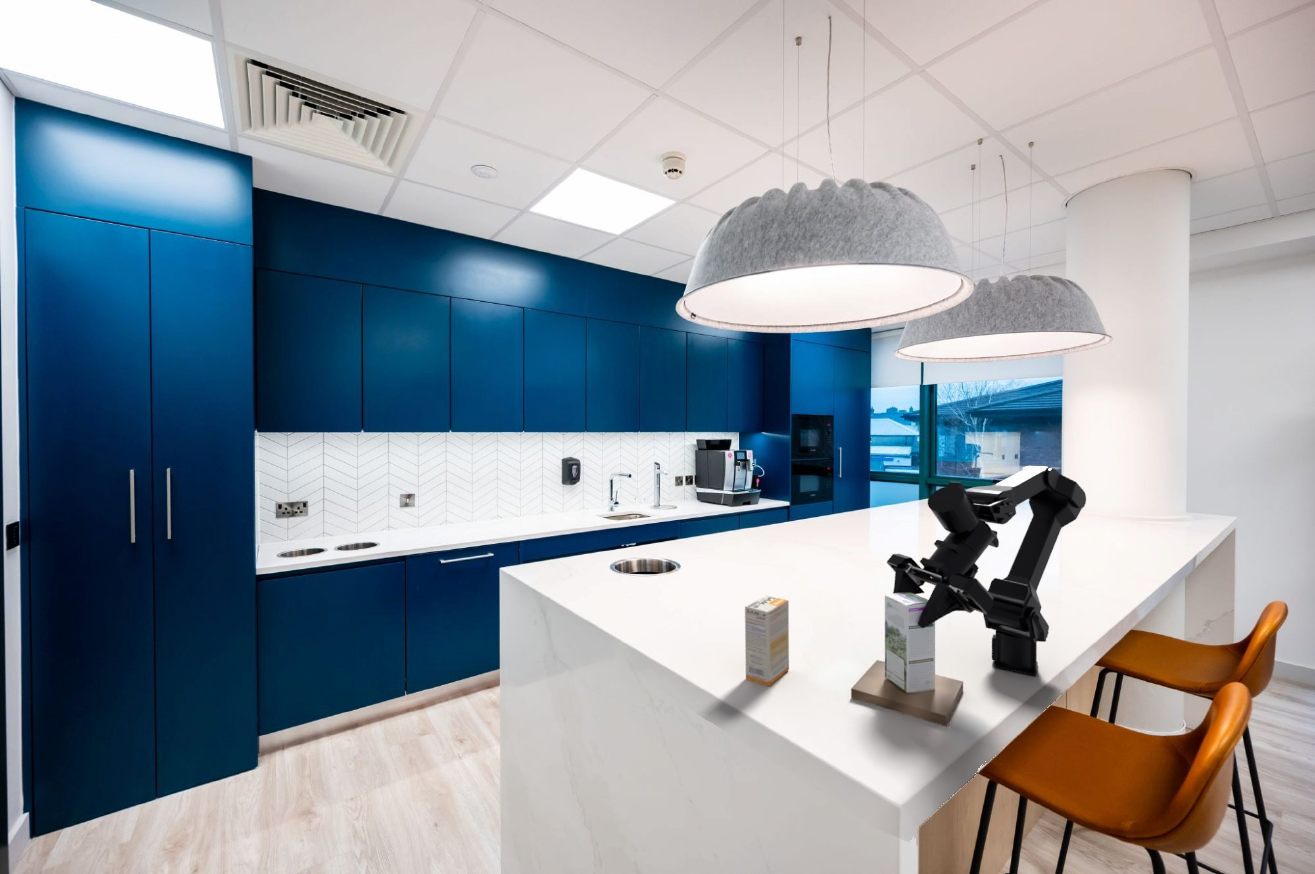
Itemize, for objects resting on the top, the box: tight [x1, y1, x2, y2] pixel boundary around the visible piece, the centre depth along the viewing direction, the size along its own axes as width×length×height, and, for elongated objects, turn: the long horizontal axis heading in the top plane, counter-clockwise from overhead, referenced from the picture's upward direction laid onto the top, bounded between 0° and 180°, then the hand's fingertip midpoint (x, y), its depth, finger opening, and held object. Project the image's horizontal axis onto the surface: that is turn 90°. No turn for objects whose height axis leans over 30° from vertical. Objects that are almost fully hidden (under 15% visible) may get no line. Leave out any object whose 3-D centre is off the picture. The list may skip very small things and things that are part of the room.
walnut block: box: [850, 659, 964, 727], centre depth 90 cm, size 14×14×2 cm
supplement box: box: [744, 595, 790, 687], centre depth 97 cm, size 8×5×13 cm, turn 141°
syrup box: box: [884, 593, 936, 693], centre depth 90 cm, size 6×6×14 cm
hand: (905, 619), depth 89 cm, fingers open, 6 cm apart
